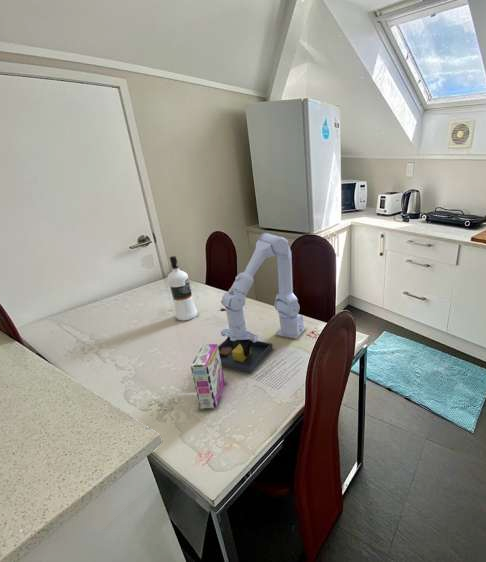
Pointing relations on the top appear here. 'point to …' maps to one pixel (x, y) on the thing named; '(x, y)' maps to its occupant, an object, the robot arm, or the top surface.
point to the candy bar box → (208, 376)
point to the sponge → (239, 354)
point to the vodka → (181, 292)
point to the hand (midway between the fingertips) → (242, 353)
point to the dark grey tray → (251, 361)
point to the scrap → (225, 352)
